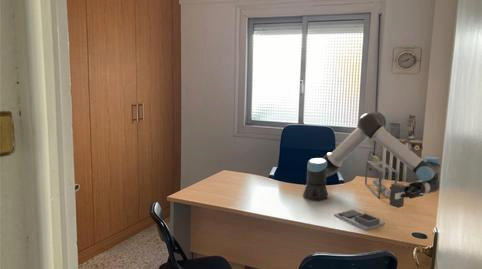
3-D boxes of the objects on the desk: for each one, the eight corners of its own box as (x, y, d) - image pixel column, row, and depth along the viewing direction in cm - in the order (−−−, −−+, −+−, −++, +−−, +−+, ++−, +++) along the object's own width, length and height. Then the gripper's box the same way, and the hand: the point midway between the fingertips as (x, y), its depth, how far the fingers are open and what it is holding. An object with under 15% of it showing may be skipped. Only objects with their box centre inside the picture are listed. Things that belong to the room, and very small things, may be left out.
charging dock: (333, 216, 199) (334, 209, 198) (352, 211, 206) (352, 205, 205) (365, 230, 181) (365, 223, 180) (383, 224, 188) (384, 218, 188)
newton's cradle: (364, 184, 257) (366, 159, 254) (379, 185, 256) (381, 160, 254) (378, 199, 227) (380, 171, 224) (395, 199, 227) (398, 171, 224)
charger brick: (389, 204, 188) (391, 183, 186) (394, 203, 190) (396, 182, 188) (398, 207, 184) (400, 186, 182) (403, 206, 186) (405, 185, 184)
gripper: (434, 200, 188) (406, 207, 176) (403, 190, 203) (375, 196, 191) (436, 186, 187) (407, 192, 175) (404, 176, 202) (376, 182, 190)
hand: (390, 194), depth 183 cm, fingers closed on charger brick, 5 cm apart
